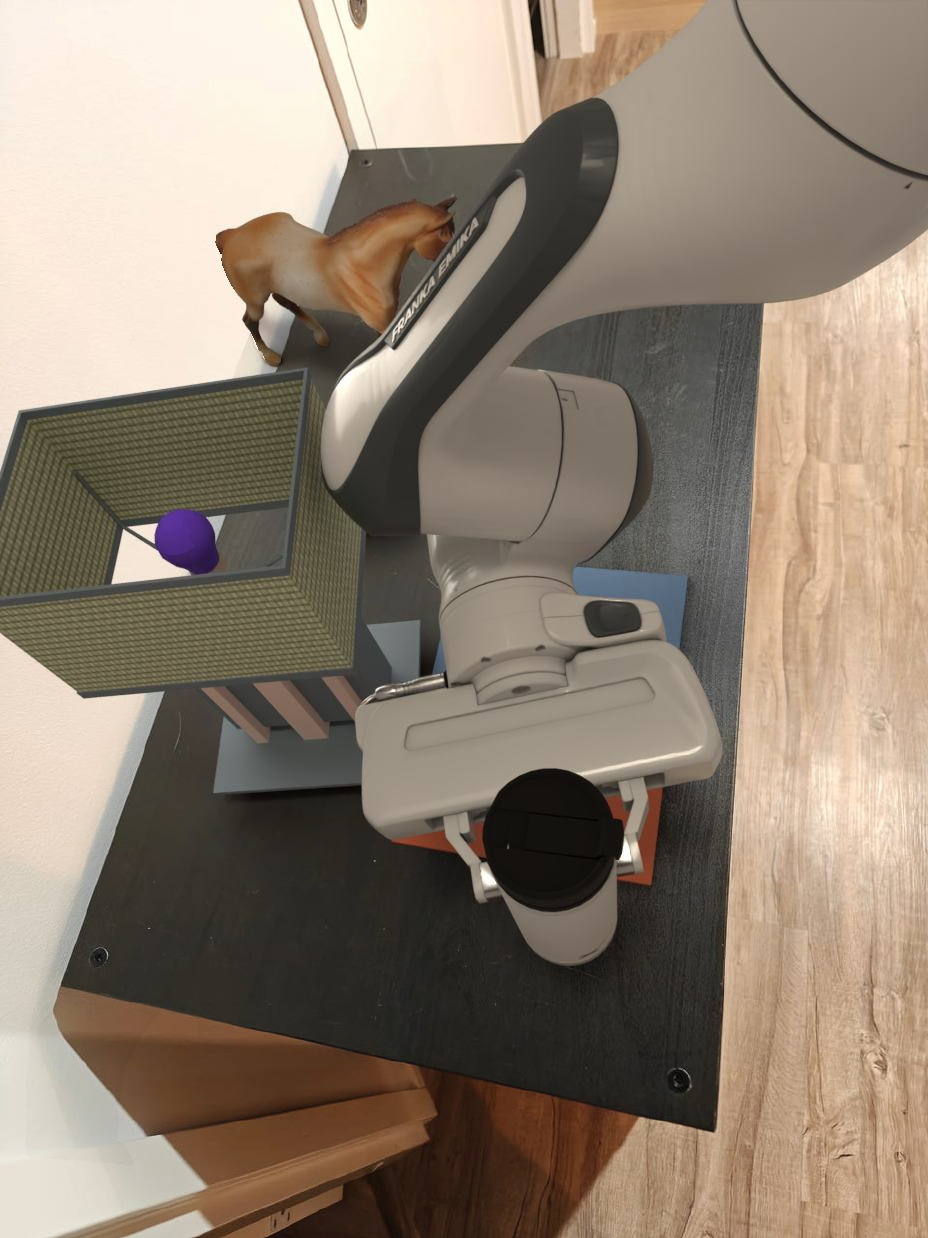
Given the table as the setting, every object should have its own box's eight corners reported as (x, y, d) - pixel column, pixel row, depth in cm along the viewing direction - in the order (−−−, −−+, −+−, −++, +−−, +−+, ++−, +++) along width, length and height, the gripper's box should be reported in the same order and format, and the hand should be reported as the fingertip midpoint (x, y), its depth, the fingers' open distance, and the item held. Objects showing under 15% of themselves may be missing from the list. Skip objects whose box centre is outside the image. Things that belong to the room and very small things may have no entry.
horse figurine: (501, 368, 95) (463, 192, 77) (468, 427, 92) (420, 259, 74) (253, 308, 106) (169, 143, 88) (217, 359, 103) (122, 199, 85)
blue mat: (688, 578, 80) (688, 575, 80) (672, 709, 75) (672, 707, 74) (461, 559, 85) (460, 556, 85) (431, 680, 80) (430, 678, 80)
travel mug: (617, 975, 58) (616, 909, 41) (511, 958, 59) (466, 888, 42) (627, 873, 61) (630, 771, 43) (525, 859, 62) (489, 754, 45)
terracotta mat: (666, 756, 73) (666, 754, 73) (651, 886, 69) (651, 885, 68) (421, 724, 78) (420, 722, 78) (392, 842, 74) (391, 841, 74)
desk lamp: (216, 803, 78) (-43, 609, 50) (237, 651, 85) (19, 406, 57) (432, 789, 75) (284, 573, 47) (435, 632, 82) (308, 363, 54)
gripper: (336, 671, 55) (355, 910, 49) (684, 595, 53) (755, 834, 46) (366, 712, 61) (388, 931, 54) (683, 644, 59) (746, 864, 52)
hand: (560, 886), depth 50 cm, fingers closed on travel mug, 6 cm apart
